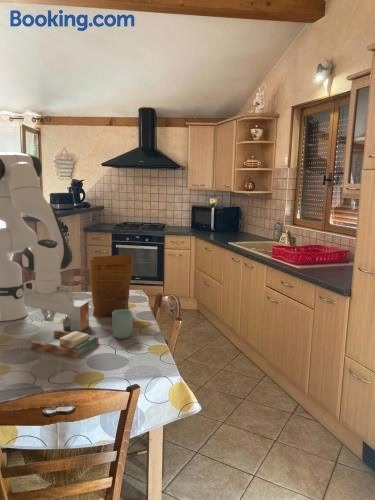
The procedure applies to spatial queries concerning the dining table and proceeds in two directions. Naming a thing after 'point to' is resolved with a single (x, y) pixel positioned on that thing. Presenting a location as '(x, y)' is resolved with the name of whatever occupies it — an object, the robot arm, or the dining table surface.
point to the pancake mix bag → (110, 283)
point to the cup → (122, 323)
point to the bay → (64, 350)
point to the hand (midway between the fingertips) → (48, 320)
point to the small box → (79, 316)
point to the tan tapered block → (73, 339)
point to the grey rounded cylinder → (67, 324)
